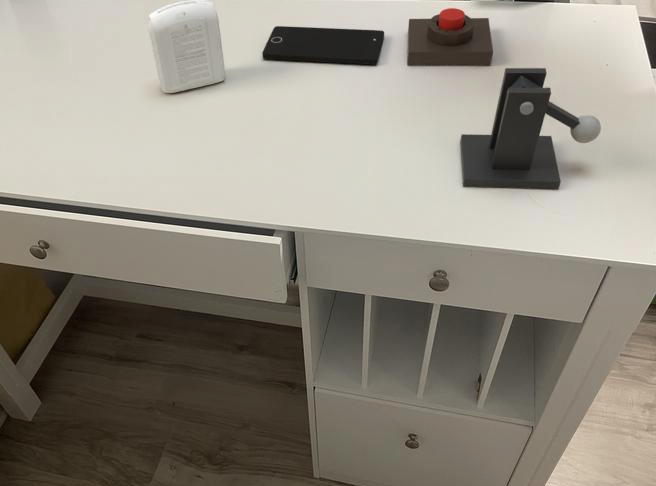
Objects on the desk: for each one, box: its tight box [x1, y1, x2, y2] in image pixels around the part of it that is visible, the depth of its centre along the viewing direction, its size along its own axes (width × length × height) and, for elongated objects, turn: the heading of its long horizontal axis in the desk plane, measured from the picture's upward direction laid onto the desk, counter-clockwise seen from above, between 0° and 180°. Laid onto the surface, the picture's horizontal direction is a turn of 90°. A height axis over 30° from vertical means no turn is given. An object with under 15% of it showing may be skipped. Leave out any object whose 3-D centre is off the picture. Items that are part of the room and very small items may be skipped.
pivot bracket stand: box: [459, 67, 562, 190], centre depth 79 cm, size 11×9×12 cm
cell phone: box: [261, 25, 385, 66], centre depth 105 cm, size 9×18×1 cm, turn 75°
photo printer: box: [147, 0, 226, 94], centre depth 97 cm, size 10×4×12 cm, turn 106°
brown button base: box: [406, 13, 494, 66], centre depth 100 cm, size 12×10×4 cm
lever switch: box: [507, 76, 602, 144], centre depth 77 cm, size 12×3×3 cm
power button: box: [438, 7, 466, 30], centre depth 98 cm, size 4×4×2 cm
